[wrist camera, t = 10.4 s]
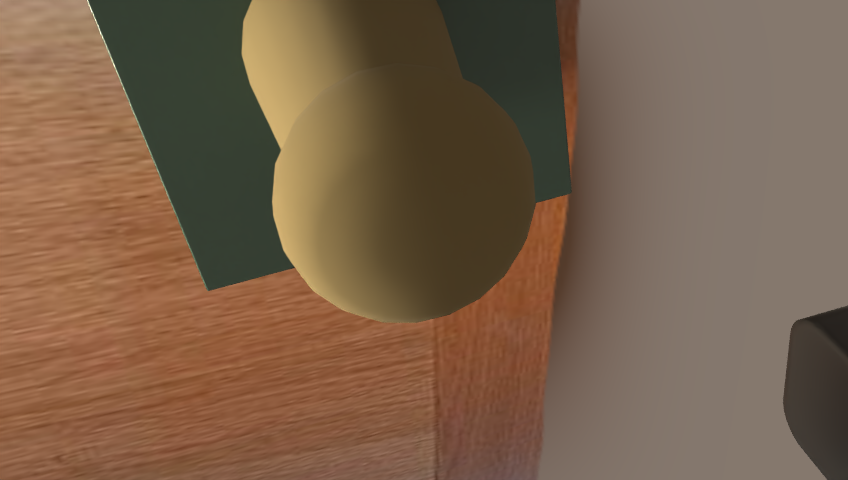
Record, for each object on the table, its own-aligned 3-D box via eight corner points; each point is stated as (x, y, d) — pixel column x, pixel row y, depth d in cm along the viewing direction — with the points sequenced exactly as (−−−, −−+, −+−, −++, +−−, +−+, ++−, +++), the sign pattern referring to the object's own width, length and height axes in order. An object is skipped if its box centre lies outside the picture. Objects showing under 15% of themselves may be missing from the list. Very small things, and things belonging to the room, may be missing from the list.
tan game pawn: (221, 118, 24) (220, 351, 15) (267, -88, 21) (300, 42, 12) (410, 158, 26) (511, 386, 17) (473, -25, 23) (633, 127, 14)
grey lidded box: (77, -190, 27) (19, -161, 19) (446, -271, 28) (532, -273, 20) (210, 168, 35) (206, 292, 27) (496, 94, 36) (572, 194, 28)
